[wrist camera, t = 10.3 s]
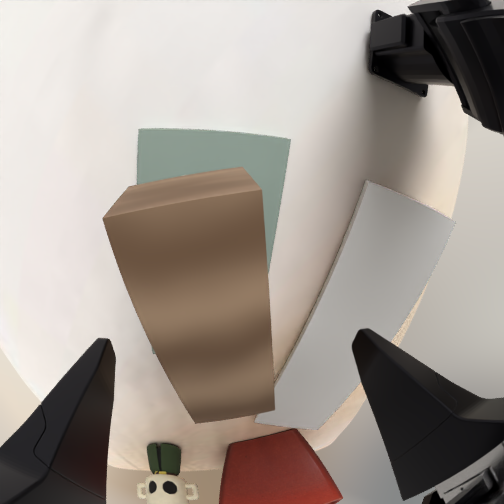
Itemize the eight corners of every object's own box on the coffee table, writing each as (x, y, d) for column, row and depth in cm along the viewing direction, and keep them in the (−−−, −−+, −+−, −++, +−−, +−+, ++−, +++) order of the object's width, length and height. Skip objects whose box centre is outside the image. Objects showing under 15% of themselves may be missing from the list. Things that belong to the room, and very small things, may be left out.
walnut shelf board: (262, 365, 21) (275, 410, 18) (191, 377, 21) (195, 423, 17) (242, 166, 14) (262, 189, 10) (128, 186, 13) (102, 218, 9)
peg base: (286, 138, 18) (314, 147, 14) (251, 345, 27) (261, 383, 23) (141, 128, 16) (122, 133, 11) (153, 346, 25) (150, 386, 21)
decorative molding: (256, 397, 38) (315, 405, 38) (253, 422, 34) (317, 429, 34) (352, 172, 23) (431, 206, 24) (369, 181, 19) (455, 221, 20)
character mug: (187, 438, 37) (195, 506, 25) (197, 450, 40) (205, 509, 29) (128, 439, 35) (129, 503, 24) (143, 452, 39) (146, 509, 27)
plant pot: (232, 465, 48) (245, 526, 33) (203, 441, 38) (217, 525, 23) (313, 444, 49) (335, 504, 34) (311, 414, 39) (344, 497, 25)
